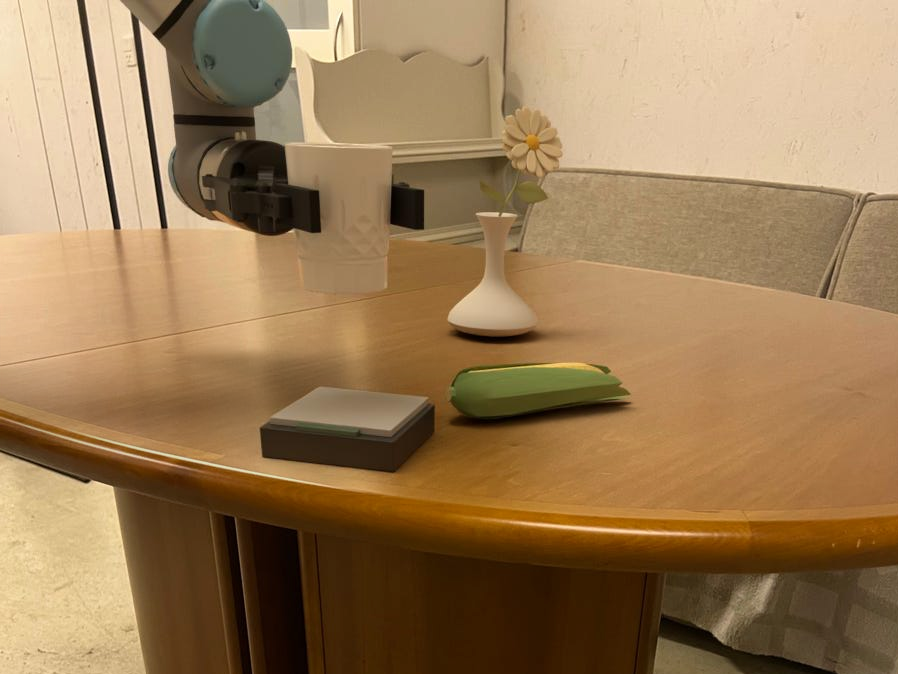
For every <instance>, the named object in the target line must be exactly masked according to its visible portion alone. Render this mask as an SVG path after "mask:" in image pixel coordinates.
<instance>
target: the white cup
mask: <svg viewBox="0 0 898 674" xmlns="http://www.w3.org/2000/svg"><path fill="white" fill-rule="evenodd" d="M283 144H284V145H283V146H285V156H286V166H287V176H288V185H293V186H299V187H304V188H309V189H314V190H319V197H320V218H321V233H309V232H305V231H302V230H298V229H295V228H294V229H293V237H294V238H293V240H294V244H295V249H296V252H297V254H298V255H297V266H298V277H299V285H300V287H301V288H302V289H303V290H305V291H308V292H310V293H316V294H325V295H334V296H335V295H341V296H344V295H348V296H349V295H350V296H351V295H352V296H355V295H367V294H368V295H370V294H375V293H380V292H383V291H384V290H386V289H387V288H388V268H389V267H388V265H389V264H388V263H389V262H388V261H389V260H388V259H389V258H388V256H387V255H388V254H389V251H390V239H391V236H390V231H391V230H390V229H391V224H390V219H391V186H392V174H393V146H390V145H383V144H368V143H367V144H364V143H347V142H346V143H345V142H314V141H313V142H310V141H309V142H307V141H306V142H305V141H301V142H300V141H299V142H296V141H295V142H291V141H290V142H284V143H283Z"/></svg>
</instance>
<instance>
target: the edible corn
mask: <svg viewBox="0 0 898 674" xmlns="http://www.w3.org/2000/svg"><path fill="white" fill-rule="evenodd" d="M611 372H612V370H611V369H609V367H608V366H605V365H598V364H592V363H584V362H521V363H520V362H519V363H496V364H495V363H494V364H483V365H477V366H470V367H466V368H463V369H461V370H459V371H458V372H457V374H455V377H454V378H453V380H452V382H451V385H450V386H448V387H446V388H445V391H444V396H445V399H446V401H447V402H448V403H449V402H450V404H451V406H452V407H453V408H454V409H455V410H456V411H457V412H458V413H459V414H461V415H463V416H465V417H467V418H468V419H469V418H470V419H480V420H494V419H496V420H497V419H502V418H510V417H516V416H521V415H527V414H531V413H538V412H544V411H549V410H550V411H551V410H556V409H563V408H568V407H569V408H570V407H575V406H576V407H577V406H583V405H590V404H597V403H605V402H611V401H612V402H613V401H619V400H627V399H630V398H631V395H632V394H631V392H629V390H628V389H626V388H624V387H623V386H622V387H621V385H622V384H623V381H622V380H620V379H619V378H618V377H616V376H615V375H612V374H610V373H611Z"/></svg>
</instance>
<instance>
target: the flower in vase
mask: <svg viewBox="0 0 898 674" xmlns="http://www.w3.org/2000/svg"><path fill="white" fill-rule="evenodd" d="M503 127H504V130H503V131H502V132H501V136H502V143H501V148H502V150H503V151H504V152H506V157H507V159H508V160H510V161H511V166H512V168H514V169H518V171H517V175H516V179H515V182H514V185H513V186H512V189H511V191H510V192H509V194H508V196H507V197H505V195H504V194H505V193H503V192H502V191H500V190H498V189H495V188H493V187H491V186H489V185H487V184H486V183H484V182H483V181H482V180H481V179H480V180H479V188H480V190H481V192H482V194H483V195H484V196H486V197H487V198H489V199H492V200H495V201H496V202H499V203H503V205H502V206H501V208H500V211H499V212H498V211H497V212H496V211H495V212H493V211H492V212H491V211H490V212H488V211H487V212H485V211H484V212H476V213H475V217H476V219H478V221H479V223H480V226H481V229H482V232H483V237H484V243H485V244H484V246H485V267H484V275H483V277H482V280H481V281H480V282H479V283H478V285H477V286H476V287H475V288H474V289H473V290H471V291H470V292H469V293H468V294H467V295H465V296H464V297H463V298H462V299H460V300H459V302H457V303H456V304H455V305H454V306H453V307H452V309H451V310H450V311H449V313H448V316H447V319H446V320H447V321H448V324H449V325H450V327H452V328H454V329H456V330H458V331H459V332H462V333H464V334H465V333H466V334H469V335H474V336H479V337H488V338H489V337H490V338H491V337H492V338H501V337H504V338H505V337H514V336H520V335H523V334H526V333H529V332H531V331H533V330H534V329H535V328H536V327H537V325H538V324H539V320H538V317H537V315H536V313H535V312H534V311H533V309H532V308H531V306H530V305H529V304H528V303H527V302H526V301H524V299H522V297H520V296H519V294H517V293H516V291H514V290H513V288H512V287H511V286H510V285H509V284H508V282H507V279H506V277H505V255H506V254H505V252H506V245H507V240H508V236H509V232H510V230H511V227H512V226H513V224H514V222H515V221H516V220H517V218H518V214H516V213H511V212H504V211H505V209H506V207H507V205H508V203H509V202H510V200H511V198H512V196H513V195H514V192H516V193H517V195H518V196H519V197H520V198H521V200H522V201H523V202H524V203H525V204H528V205H534V204H538V203H540V202H543V201H546V200H548V199H549V196H548V195H547V192H545V190H544V189H543V188H542V187H541V186H540V185H538V183H536V182H533V181H530V180H527V181H524V182H522V183H520V184H519V181H520V177H521V174H522V173H523V174H524V175H530V176H531V177H532V178H537V179H542V178H545V177H546V173H547V172H548V173H553V172H554V171H555V170H557V169H559V168H560V160H559V158H562V157H563V151H562V149H563V142H562V141H561V138H560V137H559V136H558V129H557V128H556V127H554V126H552V122H551V120H549V119H548V116H547V115H546V114H542V113H541V111H540V110H539V109H538V108H534V110H533V111H532V110H531V109H530V108H529V107H528V106H524V107H522V109H520V108H517V109H516V110H515V115H514V114H510V115H506V116H505V121H504V123H503ZM521 172H522V173H521Z"/></svg>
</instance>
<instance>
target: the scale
mask: <svg viewBox="0 0 898 674" xmlns="http://www.w3.org/2000/svg"><path fill="white" fill-rule="evenodd" d="M435 407H436V405H435V404H434V403H433V404H432V403H430V397H428V396H420V395H409V394H399V393H390V392H380V391H379V392H378V391H369V390H361V389H350V388H349V389H348V388H338V387H328V386H318V387H316V388H315V389H313V390H311V391H309V392H308V393H307V394H305V395H304V396H302V397H300V398H299V399H297V400H295V401H294V402H292V403H290V404H288V405H287V406H286V407H283V408H282V409H280V410H279V411H278V412H276V413H273V415H271V416H270V417H269V421H267V422H265V423H264V424H262V425H261V426H259V436H260V445H261V457H263V458H272V459H279V460H288V461H296V462H307V463H315V464H323V465H331V466H332V465H333V466H338V467H339V466H342V467H349V468H357V469H365V470H374V471H382V472H383V471H384V472H391V473H394V472H395V471H396V470H397V469H399V467H401V466H402V464H403V463H405V461H407V459H409V458H410V456H412V454H414V453H415V452H416V451H417V450H418V448H420V446H422V445H423V444H424V443H425V442H426V441H427V440H428V439H429V437H431V436H432V435H433V434H434V433H435V429H436V428H435V421H436V419H435V418H436V413H435V412H436V411H435V410H436V408H435Z"/></svg>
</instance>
